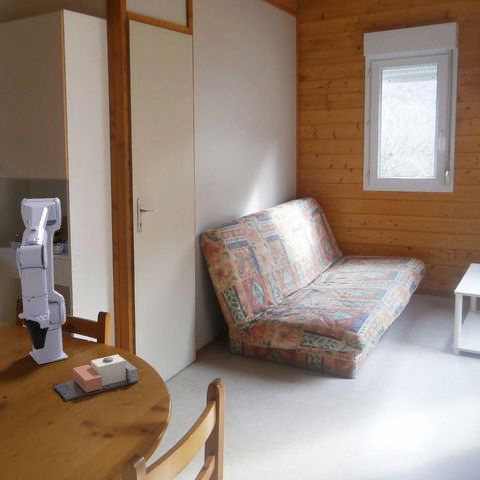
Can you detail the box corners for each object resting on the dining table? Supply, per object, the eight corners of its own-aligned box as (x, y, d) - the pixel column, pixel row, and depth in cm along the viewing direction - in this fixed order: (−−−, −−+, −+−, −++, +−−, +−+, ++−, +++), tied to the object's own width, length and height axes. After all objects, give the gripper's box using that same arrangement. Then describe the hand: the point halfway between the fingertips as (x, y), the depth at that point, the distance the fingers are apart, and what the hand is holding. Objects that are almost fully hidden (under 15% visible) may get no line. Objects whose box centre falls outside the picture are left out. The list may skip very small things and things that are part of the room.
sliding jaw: (73, 379, 146) (72, 368, 145) (89, 375, 148) (88, 364, 147) (86, 392, 138) (85, 380, 138) (102, 388, 141) (101, 376, 140)
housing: (91, 379, 146) (90, 359, 145) (118, 372, 150) (117, 352, 149) (99, 386, 142) (98, 365, 141) (126, 379, 146) (125, 359, 145)
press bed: (54, 387, 143) (53, 373, 142) (123, 370, 153) (122, 357, 152) (66, 401, 136) (65, 387, 135) (137, 382, 146) (137, 368, 145)
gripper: (10, 290, 144) (14, 342, 147) (25, 304, 132) (30, 361, 135) (39, 285, 148) (42, 337, 151) (57, 299, 136) (60, 354, 139)
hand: (39, 348), depth 143 cm, fingers closed
